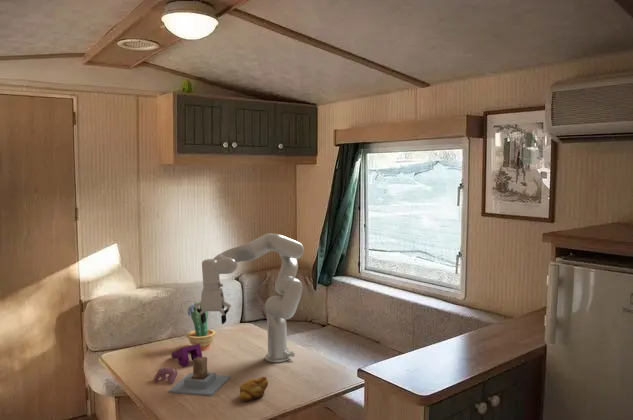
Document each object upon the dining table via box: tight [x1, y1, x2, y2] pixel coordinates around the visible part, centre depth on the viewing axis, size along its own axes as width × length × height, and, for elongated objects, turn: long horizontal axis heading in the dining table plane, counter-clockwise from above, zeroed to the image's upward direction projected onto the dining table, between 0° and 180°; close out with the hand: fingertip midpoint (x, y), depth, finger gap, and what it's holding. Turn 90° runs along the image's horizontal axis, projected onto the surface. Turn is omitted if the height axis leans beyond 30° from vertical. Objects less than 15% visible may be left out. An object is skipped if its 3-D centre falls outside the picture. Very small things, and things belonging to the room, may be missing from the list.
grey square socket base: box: [168, 371, 231, 397], centre depth 226 cm, size 20×20×4 cm
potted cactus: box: [186, 300, 216, 351], centre depth 275 cm, size 15×15×25 cm
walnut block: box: [192, 356, 208, 380], centre depth 226 cm, size 4×4×11 cm
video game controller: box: [153, 366, 178, 385], centre depth 231 cm, size 10×5×7 cm, turn 72°
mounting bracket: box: [170, 344, 203, 368], centre depth 255 cm, size 9×8×18 cm
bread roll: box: [239, 376, 269, 402], centre depth 213 cm, size 13×10×8 cm
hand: (213, 322), depth 235 cm, fingers open, 9 cm apart
